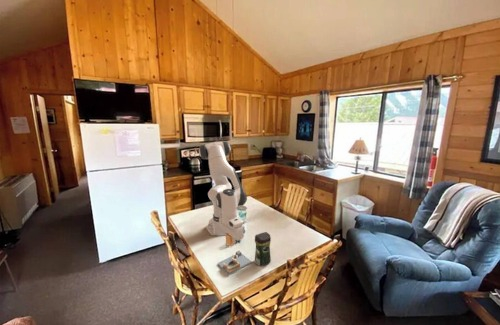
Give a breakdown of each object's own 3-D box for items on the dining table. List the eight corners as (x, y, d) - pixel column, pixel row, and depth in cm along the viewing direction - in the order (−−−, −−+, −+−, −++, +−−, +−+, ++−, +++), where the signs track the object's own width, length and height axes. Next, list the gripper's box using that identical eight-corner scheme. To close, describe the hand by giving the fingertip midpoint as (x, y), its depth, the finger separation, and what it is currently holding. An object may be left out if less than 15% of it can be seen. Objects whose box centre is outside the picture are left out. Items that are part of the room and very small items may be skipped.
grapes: (242, 236, 160) (242, 221, 158) (246, 240, 154) (246, 225, 152) (228, 240, 154) (228, 225, 152) (232, 245, 148) (232, 229, 146)
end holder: (223, 266, 125) (222, 263, 124) (233, 261, 130) (233, 257, 129) (229, 273, 120) (229, 269, 119) (240, 267, 124) (240, 263, 124)
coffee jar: (264, 255, 137) (265, 229, 133) (272, 262, 130) (273, 234, 127) (252, 260, 132) (252, 233, 128) (259, 268, 125) (260, 239, 122)
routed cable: (224, 260, 131) (224, 257, 130) (238, 253, 138) (238, 250, 137) (230, 265, 126) (229, 262, 125) (244, 258, 133) (244, 255, 132)
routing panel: (217, 264, 128) (217, 263, 128) (240, 253, 139) (240, 252, 139) (228, 275, 119) (228, 273, 119) (251, 262, 130) (251, 261, 130)
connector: (226, 243, 122) (225, 232, 121) (231, 240, 125) (231, 230, 123) (229, 246, 119) (229, 235, 118) (235, 243, 122) (235, 232, 120)
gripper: (215, 213, 125) (216, 235, 127) (235, 226, 109) (236, 250, 112) (224, 210, 129) (225, 231, 131) (245, 222, 113) (245, 246, 116)
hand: (230, 240), depth 121 cm, fingers closed on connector, 4 cm apart
